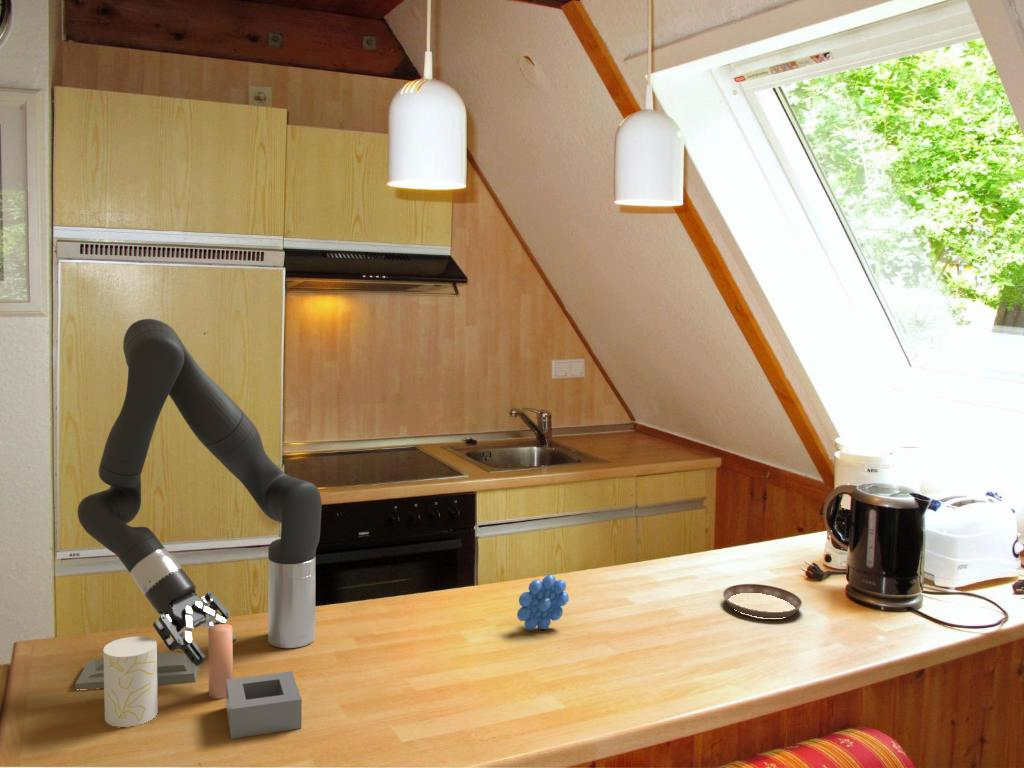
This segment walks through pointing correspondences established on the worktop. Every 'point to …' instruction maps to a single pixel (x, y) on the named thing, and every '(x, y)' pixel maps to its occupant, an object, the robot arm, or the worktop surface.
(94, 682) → the soap mold
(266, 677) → the socket block
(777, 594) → the dark grey ring
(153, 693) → the white patterned cylinder
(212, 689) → the peg
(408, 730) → the worktop surface
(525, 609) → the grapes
